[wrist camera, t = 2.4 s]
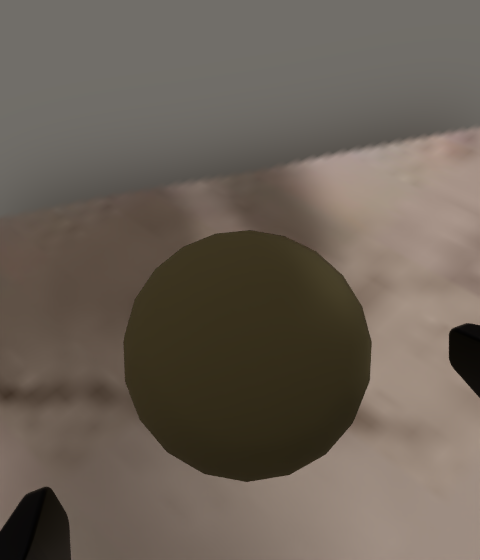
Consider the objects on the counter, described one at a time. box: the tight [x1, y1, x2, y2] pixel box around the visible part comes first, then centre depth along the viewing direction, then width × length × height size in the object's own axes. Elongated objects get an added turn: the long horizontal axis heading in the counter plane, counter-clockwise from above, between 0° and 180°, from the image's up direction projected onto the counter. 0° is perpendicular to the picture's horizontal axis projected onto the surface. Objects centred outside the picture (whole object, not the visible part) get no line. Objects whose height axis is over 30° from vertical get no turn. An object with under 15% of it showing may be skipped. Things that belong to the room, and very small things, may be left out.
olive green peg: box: [124, 230, 372, 482], centre depth 12 cm, size 6×6×11 cm
